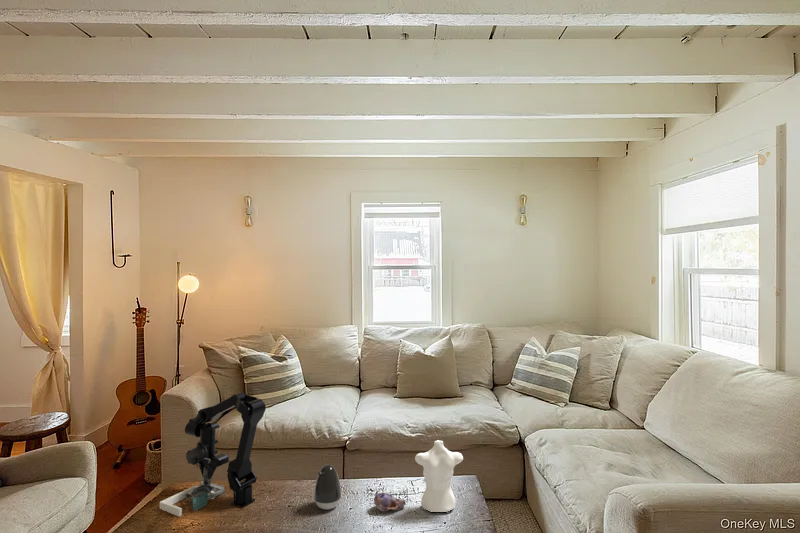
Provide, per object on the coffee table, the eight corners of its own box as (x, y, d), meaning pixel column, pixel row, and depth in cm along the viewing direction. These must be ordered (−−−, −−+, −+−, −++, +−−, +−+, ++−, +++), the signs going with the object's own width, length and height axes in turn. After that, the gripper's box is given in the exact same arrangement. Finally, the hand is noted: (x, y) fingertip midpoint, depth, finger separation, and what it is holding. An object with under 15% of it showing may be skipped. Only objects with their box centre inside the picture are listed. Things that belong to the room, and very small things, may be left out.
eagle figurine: (197, 508, 160) (216, 493, 168) (187, 491, 160) (206, 476, 169) (186, 515, 163) (205, 499, 171) (176, 498, 164) (196, 483, 172)
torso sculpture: (459, 500, 169) (459, 434, 170) (465, 513, 159) (465, 444, 160) (412, 501, 167) (413, 435, 168) (415, 515, 158) (416, 445, 158)
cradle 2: (225, 492, 174) (225, 485, 174) (214, 498, 170) (214, 490, 170) (221, 491, 175) (221, 484, 175) (211, 496, 170) (211, 489, 171)
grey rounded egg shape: (307, 509, 162) (308, 467, 162) (324, 497, 171) (325, 457, 171) (329, 516, 157) (330, 473, 157) (346, 503, 166) (346, 462, 167)
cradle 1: (218, 490, 175) (219, 483, 175) (208, 496, 171) (208, 488, 171) (215, 489, 176) (215, 482, 176) (205, 494, 172) (205, 487, 172)
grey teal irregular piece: (226, 494, 172) (227, 469, 172) (195, 510, 160) (196, 483, 160) (204, 487, 178) (205, 462, 178) (173, 502, 166) (173, 476, 166)
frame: (214, 498, 169) (214, 491, 170) (179, 516, 156) (179, 509, 156) (195, 491, 175) (195, 485, 175) (159, 508, 161) (159, 501, 162)
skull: (404, 503, 166) (404, 487, 167) (407, 514, 159) (407, 497, 159) (373, 505, 165) (373, 488, 165) (374, 516, 157) (374, 498, 158)
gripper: (174, 441, 173) (173, 481, 173) (206, 449, 164) (205, 492, 164) (199, 432, 183) (198, 470, 182) (230, 440, 174) (229, 480, 174)
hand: (207, 478), depth 175 cm, fingers closed on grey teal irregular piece, 3 cm apart
